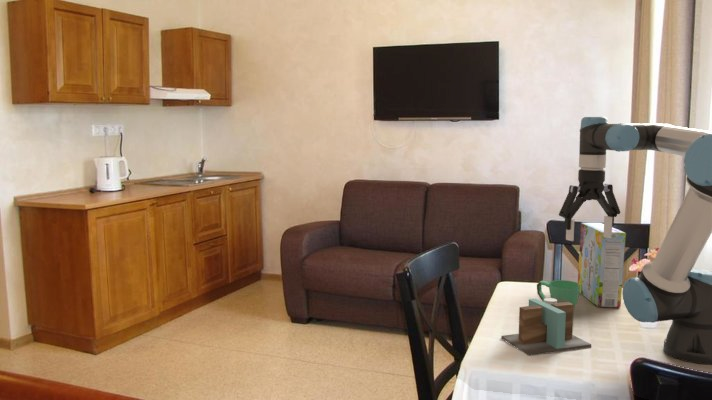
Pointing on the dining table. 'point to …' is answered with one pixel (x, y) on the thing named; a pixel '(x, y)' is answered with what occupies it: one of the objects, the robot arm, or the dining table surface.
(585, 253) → the snack box
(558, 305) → the slotted stand
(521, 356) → the dining table surface
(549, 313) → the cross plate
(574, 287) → the mug
